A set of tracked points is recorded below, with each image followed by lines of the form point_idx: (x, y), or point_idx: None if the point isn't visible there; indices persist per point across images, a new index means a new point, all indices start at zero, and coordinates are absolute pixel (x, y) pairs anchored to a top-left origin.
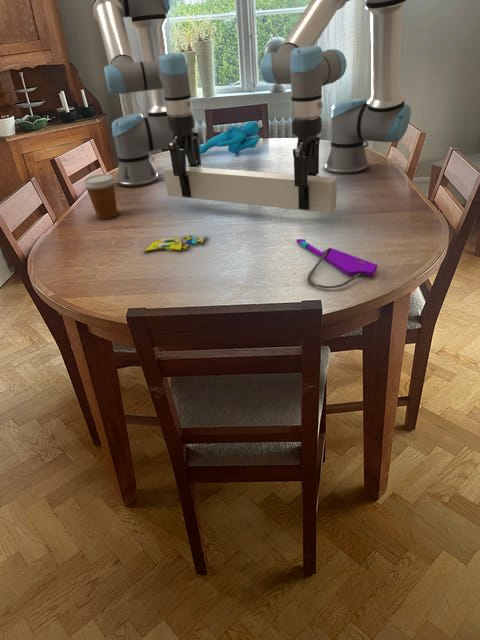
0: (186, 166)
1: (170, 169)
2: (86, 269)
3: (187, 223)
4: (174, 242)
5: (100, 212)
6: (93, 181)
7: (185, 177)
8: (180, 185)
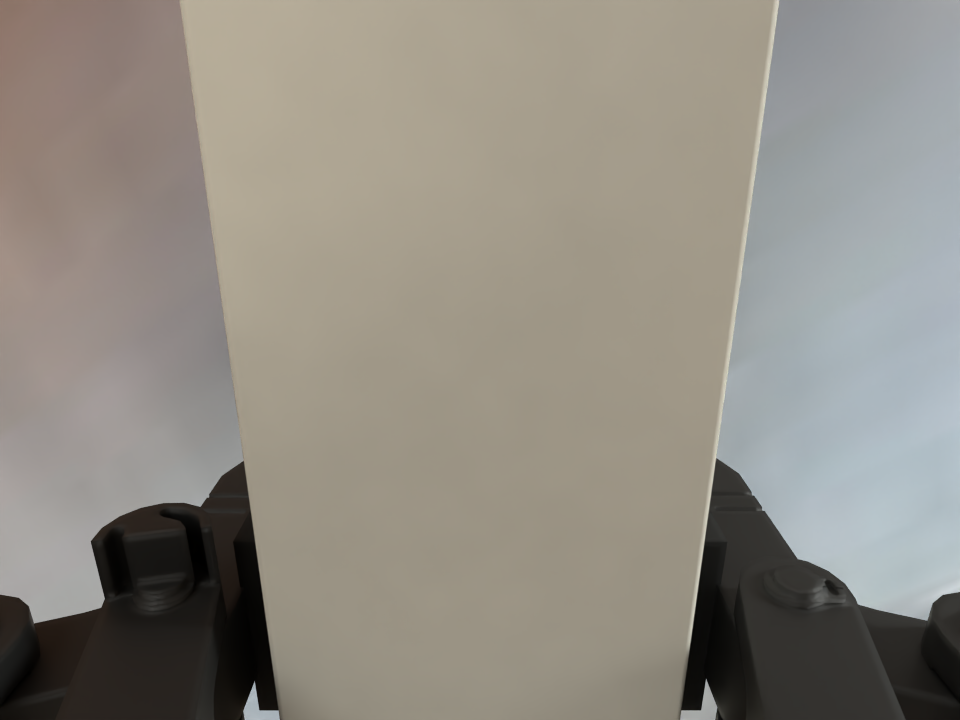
0: (678, 587)
1: (259, 243)
2: None
3: (117, 494)
4: None
5: None
6: None
7: (261, 660)
8: (223, 480)
